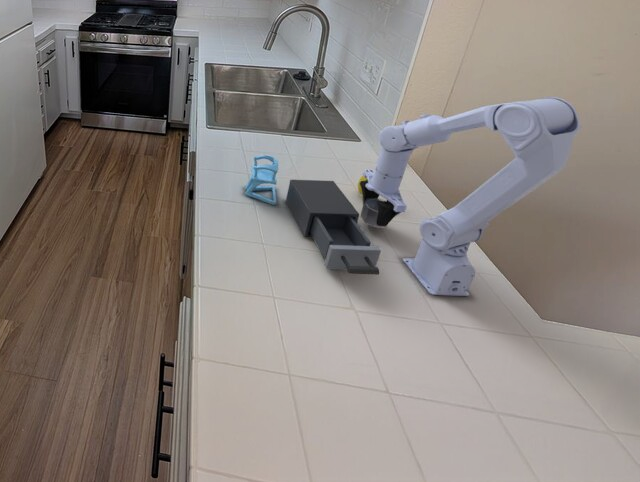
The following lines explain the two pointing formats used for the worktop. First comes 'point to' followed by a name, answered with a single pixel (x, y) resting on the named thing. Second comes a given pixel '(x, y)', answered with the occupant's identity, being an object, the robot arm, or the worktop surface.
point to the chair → (263, 178)
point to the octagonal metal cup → (370, 212)
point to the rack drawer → (344, 245)
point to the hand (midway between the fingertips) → (374, 216)
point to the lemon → (360, 185)
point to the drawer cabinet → (317, 202)
